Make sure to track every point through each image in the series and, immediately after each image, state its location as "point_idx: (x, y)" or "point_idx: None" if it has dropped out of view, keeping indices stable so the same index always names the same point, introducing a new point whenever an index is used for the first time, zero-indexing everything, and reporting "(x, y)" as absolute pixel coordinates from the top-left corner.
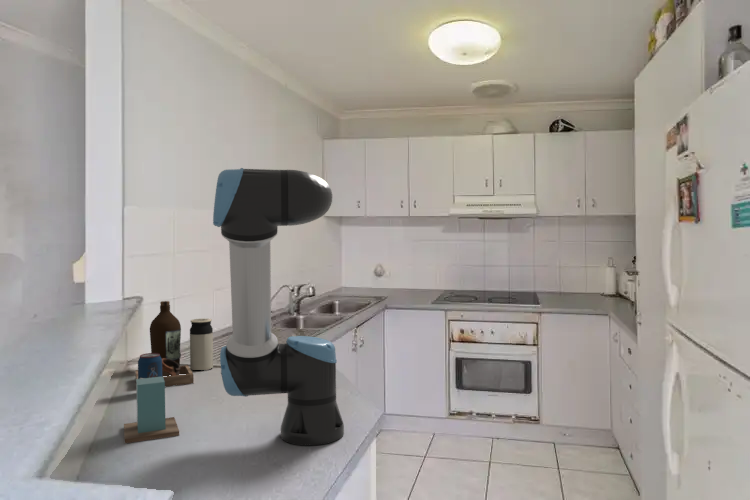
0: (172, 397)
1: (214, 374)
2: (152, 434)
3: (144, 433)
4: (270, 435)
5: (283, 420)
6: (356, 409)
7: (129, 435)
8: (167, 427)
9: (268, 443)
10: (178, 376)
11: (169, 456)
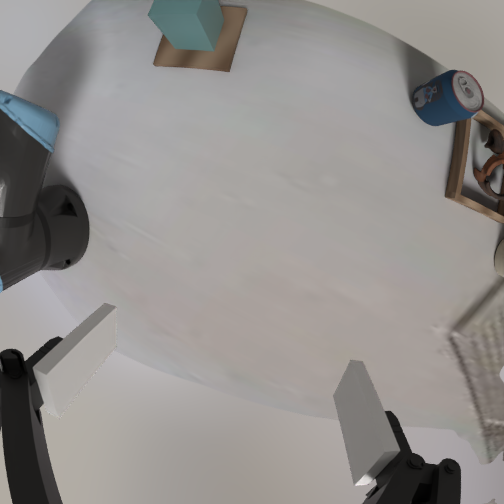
0: (381, 120)
1: (469, 257)
2: None
3: None
4: (80, 178)
5: (50, 191)
6: None
7: None
8: (181, 52)
9: (61, 165)
10: (459, 170)
11: (98, 51)
